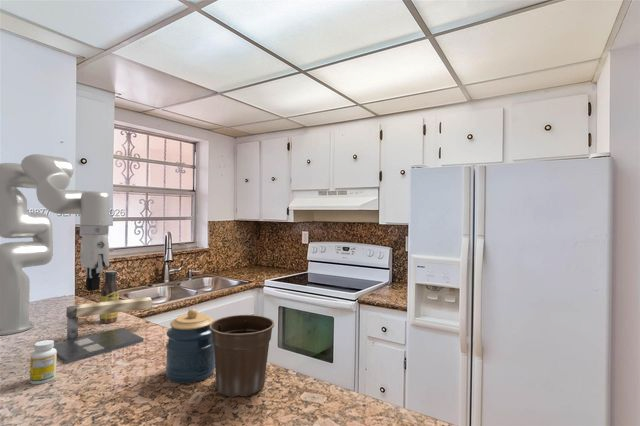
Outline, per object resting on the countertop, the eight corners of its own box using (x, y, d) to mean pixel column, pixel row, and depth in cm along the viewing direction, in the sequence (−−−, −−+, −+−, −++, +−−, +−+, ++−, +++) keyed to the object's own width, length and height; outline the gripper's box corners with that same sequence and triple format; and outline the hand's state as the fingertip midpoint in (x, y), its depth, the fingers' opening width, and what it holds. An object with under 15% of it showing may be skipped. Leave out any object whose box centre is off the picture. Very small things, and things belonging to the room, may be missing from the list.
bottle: (109, 324, 133) (110, 273, 133) (95, 323, 134) (96, 272, 134) (122, 319, 139) (123, 270, 139) (108, 318, 140) (109, 269, 140)
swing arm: (66, 318, 114) (66, 309, 114) (66, 314, 118) (66, 306, 118) (151, 307, 129) (152, 299, 129) (149, 304, 133) (149, 297, 133)
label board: (41, 345, 111) (42, 322, 111) (114, 327, 129) (114, 307, 129) (66, 363, 99) (67, 337, 99) (143, 341, 117) (143, 319, 117)
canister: (224, 367, 99) (226, 305, 99) (194, 388, 87) (196, 318, 87) (188, 359, 104) (189, 301, 104) (154, 379, 91) (155, 312, 91)
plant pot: (238, 366, 100) (239, 310, 100) (284, 380, 92) (286, 320, 92) (194, 391, 86) (195, 326, 86) (244, 410, 78) (246, 339, 78)
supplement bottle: (48, 383, 87) (49, 346, 87) (24, 385, 86) (25, 347, 86) (60, 374, 93) (61, 338, 93) (38, 375, 92) (38, 339, 92)
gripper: (118, 232, 106) (116, 291, 106) (97, 229, 115) (95, 284, 115) (90, 233, 100) (88, 296, 100) (71, 230, 109) (69, 288, 109)
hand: (92, 289), depth 107 cm, fingers closed
